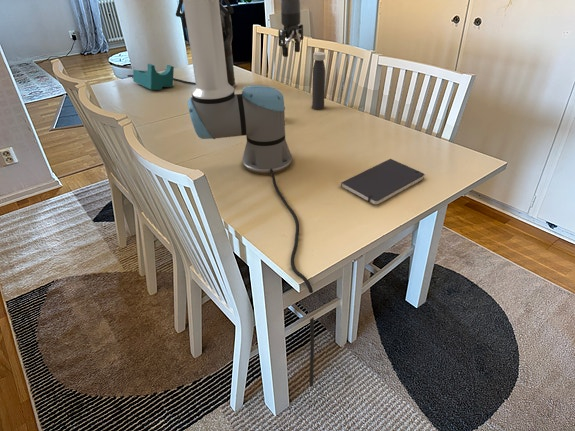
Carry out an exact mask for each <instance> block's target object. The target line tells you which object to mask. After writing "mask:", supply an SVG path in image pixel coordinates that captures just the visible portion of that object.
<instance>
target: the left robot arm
mask: <svg viewBox="0 0 575 431" xmlns="http://www.w3.org/2000/svg"><path fill="white" fill-rule="evenodd" d="M219 2H220V3H221V4H222V5H223V0H219ZM223 7H224V8H225V9H226V10H227V11H228V10H229V9H228V8H226V7H225V6H223ZM224 15H225V13H224V12H223V11H222V10H221V9H220V16H221V25H222V34H223V43H224V52H225V61H226V70H227V79H228V83H229V84H230V85H231V86H232V87H233V88H234V89H235V88H236V77H235V70H234V69H235V68H234V59H233V49H232V41H233V25H232V24H233V23H232V17H231V14H230V15H229V19H230V25H227V31H228V36H226V34H225V25H224ZM280 17H281V18H280V20H281V21H280V22H281V25H283V29H278V35H277V36H278V42H277V44H278V47H281V48H282V57H284V58H288V57H289V44H290V43H291V41H292V40H294V52H295V53H300V52H301V42H302V41H303V40H304V25H303V24H301V0H281V3H280ZM127 77H129V78H133V74H127ZM173 81H176V82H180V83H184V84H187V85H188V84H189V85H195V86H196V82H193V81H187V80H183V79H179V78H176V77H173Z"/></svg>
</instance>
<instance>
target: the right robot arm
mask: <svg viewBox="0 0 575 431" xmlns="http://www.w3.org/2000/svg"><path fill="white" fill-rule="evenodd" d="M223 1H224V3H225V5H226V7H227V8H226V7H225V6H224V5H223V3H222V4H221V3H220V2H219V0H179V1H178V5H177V7H176V12H175V17H178V18H180V19H181V22H182V27H183V29H186V34H187V39H188V43H189V48H190V55H191V61H192V68H193V74H194V81H195V82H194V83H196V85H195V87H194V88H193V89H192V90H191V97H189V98H188V99H187V107H188V111H189V116H190V120H191V124H192V127H193V130H194V132H195V134H196V135H197V137H198V138H199V139H201V140H211V139H212V140H216V139H223V138H235V137H242V136H246V137H245V138H246V143H245V146H244V151H243V155H242V166H243V168H244V170H246V171H247V172H249V173H252V174H254V175H255V174H256V175H262V176H269V175H270V176H271V180H272V183H273V187H274V190H275V191H276V194H277V195H278V197H279V198H280V200H281V201H282V203H283V204H284V206H285V207H286V209H287V210H288V211H289V213H290V214H291V215H292V217H293V220H294V223H295V234H294V243H293V247H292V252H291V255H290V267H291V270H292V272H293V273H294V274H295V275H296V276H297V277H299V278H300V279H301V281H303V282H304V284H305V285H306V287H307V291H308V292H309V293H310V294H313V293H314V290H313V287H312V284H311V282H310V281H309V279H308V278H307V277H306V276H305V275H304V274H303V273H302V272H301V271H299V270H298V269H297V268H296V264H295V257H296V253H297V250H298V247H299V246H298V245H299V235H300V223H299V222H300V221H299V218H298V216H297V214H296V212H295V211H294V210H293V209H292V207H291V206H290V205H289V203H288V202H287V200H286V199H285V197H284V196H283V194H282V193H281V191H280V189H279V187H278V185H277V180H276V176H275V175H277V174H280V173H283V172H286V171H287V170H289V169H290V167H291V166H292V163H293V157H292V153H291V150H290V148H289V145H288V143H287V140H286V118H285V117H286V115H285V114H286V112H285V110H286V106H285V98H284V95H283V93H282V92H281V91H280V90H279V89H277V88H275V87H272V86H268V85H261V84H252V85H248V86H244V87H243V88H242V90H241V93H235V87H234V88H233V87H232V86H231V85H230V84H229V83H228V79H227V70H226V61H225V52H224V43H223V34H222V25H221V16H220V9H221V10H222V11H223V12H224V13H225V15H224V25H225V34H226V36H228V31H227V25H230V19H229V15H230V16H231V15H232V14H234V12H235V10H234V8H233V6H232V5H231V4H230V1H229V0H223ZM182 7H183V11H182ZM224 7H225V8H226V9H227V10H228V11H227V10H226V9H225V8H224ZM181 11H182V12H181ZM309 329H310V330H309V334H310V336H309V338H310V339H309V340H310V341H309V342H310V344H309V345H310V349H309V352H310V353H309V355H310V356H309V387H311V388H312V387H314V365H315V362H314V361H315V318H314V316H313V317H312V318H310V319H309Z"/></svg>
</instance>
